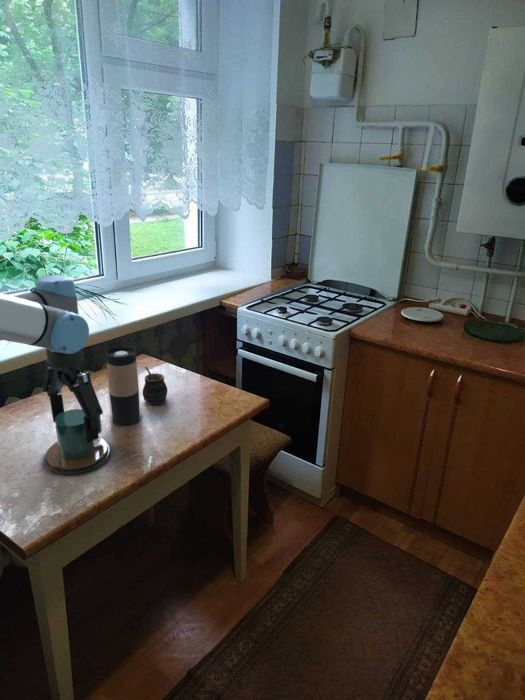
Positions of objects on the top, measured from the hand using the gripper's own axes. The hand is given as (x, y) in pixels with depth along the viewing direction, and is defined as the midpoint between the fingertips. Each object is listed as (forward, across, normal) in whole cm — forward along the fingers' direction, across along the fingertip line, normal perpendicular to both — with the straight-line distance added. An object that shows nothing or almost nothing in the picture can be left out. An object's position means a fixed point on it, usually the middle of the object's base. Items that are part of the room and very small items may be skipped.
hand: (75, 429), depth 117 cm
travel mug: (+8, +6, -19) cm, 21 cm away
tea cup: (+6, 0, 0) cm, 6 cm away
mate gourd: (+8, +8, -31) cm, 33 cm away
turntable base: (+7, 0, 0) cm, 7 cm away
